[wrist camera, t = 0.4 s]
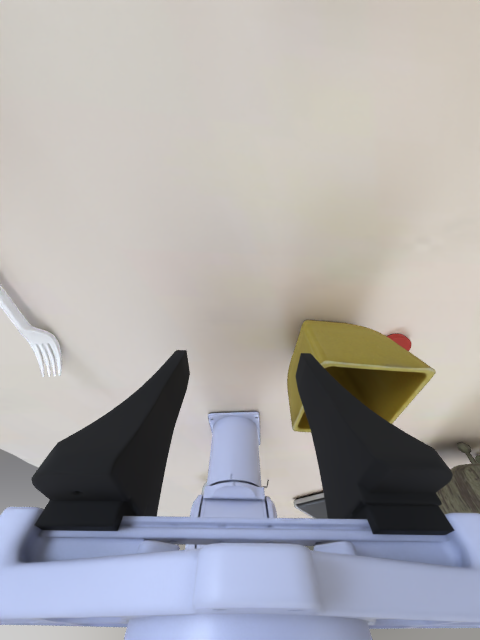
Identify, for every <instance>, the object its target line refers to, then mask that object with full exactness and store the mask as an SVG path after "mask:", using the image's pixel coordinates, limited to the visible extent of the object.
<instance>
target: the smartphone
mask: <svg viewBox="0 0 480 640" xmlns="http://www.w3.org/2000/svg"><path fill="white" fill-rule="evenodd" d="M294 507H295V508H297V509H299V510H300V511H302V512H304V513H305V514H307V515H309V516H310V517H312V518H314V519H328V517H327V510H326V504H325V498H324V493H320V494H316V495H312V496H308V497H304V498H300V499H296V500H294Z"/></svg>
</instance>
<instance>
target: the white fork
mask: <svg viewBox="0 0 480 640" xmlns="http://www.w3.org/2000/svg"><path fill="white" fill-rule="evenodd" d="M0 306H1V308H2V309H3V310H4V312H5V313H6V314H7V316H8V317H9V318H10V320H11V321H12V322H13V324H14V325H15V326H16V328H17V329H18V331H19V332H20V334H21V335H22V336H23V337H24V338H25V339H26V340H27V341H28V342H29V344H30V345H31V347H32V349H33V351H34V353H35V355H36V357H37V360H38V363H39V366H40V369H41V374H42V377H44V361H43V356H44V359H45V362H46V366H47V372H48V376H50V374H51V371H50V360H49V357H50V359H51V363H52V368H53V375H54V376H56V362H55V357H56V361H57V365H58V371H59V376H61V372H62V355H61V350H60V345H59V343H58V340H57V339H56V337H55V336H54V335H53V334H52V333H50V332H48V331H46V330H43V329H39V328H36V327H34V326H32V325H30V324H29V323H28V321H27V320H26V319H25V317H24V316H23V314H22V313H21V312H20V310H19V309H18V308H17V306H16V305H15V304H14V302H13V301H12V300H11V298H10V297H9V296H8V294H7V293H6V292H5V290H4V289H3V287H2V286H1V285H0ZM41 351H42V352H41ZM53 352H54V353H53ZM42 354H43V356H42ZM48 354H49V355H48ZM54 355H55V356H54Z"/></svg>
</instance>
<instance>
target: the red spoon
mask: <svg viewBox="0 0 480 640" xmlns="http://www.w3.org/2000/svg"><path fill="white" fill-rule="evenodd" d="M387 337H388V338H390V339H391V340H393V341H394V342H396V343H397V344H398V345H400V346H401V347H403V348H404V349H406V350H407V351H409V350H410V348H411V341H410V340H409V339H408V338H407V337H406V336H404V335H402V334H392V335H389V336H387Z"/></svg>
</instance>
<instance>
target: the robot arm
mask: <svg viewBox="0 0 480 640" xmlns="http://www.w3.org/2000/svg"><path fill="white" fill-rule="evenodd" d="M189 375H190V372H189V365H188V358H187V351H186V350H176V351H175V352H174V353H173V355H172V356H171V357H170V358H169V359H168V360H167V361H166V362H165V364H164V365H163V366H162V367H161V368H160V369H159V370H158V371H157V372H156V373H155V374H154V375H153V376H152V377H151V378H150V379H149V380H148V381H147V382H146V383H145V384H144V385H143V386H142V387H141V388H139V389H138V390H137V391H136V392H135V393H134V394H132V395H131V396H130V397H129V398H128V399H126V400H125V401H124V402H122V403H121V404H120V405H118V406H117V407H115V408H114V409H113V410H111V411H110V412H109V413H107V414H106V415H104V416H103V417H101V418H99V419H98V420H96V421H95V422H93V423H92V424H90V425H88V426H87V427H85V428H83V429H82V430H80V431H78V432H76V433H74V434H73V435H71V436H69V437H67V438H66V439H64V440H62V441H60V442H58V443H57V445H56V446H55V447H54V448H53V450H52V451H51V452H50V453H49V455H48V456H47V458H46V459H45V460H44V462H43V463H42V464H41V466H40V467H39V469H38V470H37V471H36V473H35V474H34V475H33V477H32V483H33V485H34V486H35V488H36V489H38V490H39V491H40V492H41V493H43V494H44V495H45V496H46V497H47V498H49V499H50V501H49V503H48V504H47V506H46V507H45V509H42V508H38V507H8V508H6V509H5V510H4V511H3V512H2V514H1V515H0V625H52V626H54V625H55V626H96V627H127V630H126V634H125V637H124V640H372V637H371V633H370V630H369V629H380V628H381V629H383V628H384V629H385V628H386V629H388V628H480V514H479V513H449V514H445V515H444V513H443V512H442V510H441V509H440V507H439V505H441V504H442V502H441V500H440V499H439V497H438V496H437V494H436V492H437V491H439V490H440V489H441V488H443V487H444V486H445V485H447V484H448V483H449V482H450V481H451V479H452V476H453V474H452V471H451V470H450V469H449V467H448V466H447V465H446V464H445V462H444V461H443V460H442V458H441V457H440V456H439V454H438V453H437V452H436V451H435V449H433V448H432V447H430V446H428V445H426V444H425V443H423V442H421V441H419V440H417V439H416V438H414V437H412V436H410V435H409V434H407V433H405V432H404V431H402V430H400V429H399V428H397V427H396V426H394V425H392V424H391V423H389V422H388V421H386V420H385V419H383V418H382V417H380V416H379V415H378V414H376V413H375V412H373V411H372V410H371V409H369V408H368V407H367V406H365V405H364V404H363V403H362V402H360V401H359V400H358V399H357V398H355V397H354V396H353V395H352V394H351V393H349V392H348V391H347V390H346V389H345V388H344V387H343V386H342V385H341V384H340V383H338V382H337V381H336V380H335V379H334V378H333V377H332V376H331V375H330V374H329V373H328V372H327V370H326V369H325V368H324V367H323V366H322V365H321V364H320V363H319V362H318V361H317V360H316V359H315V358H314V356H313V355H312V354H311V353H301V355H300V359H299V363H298V367H297V371H296V375H295V377H296V383H297V388H298V392H299V395H300V399H301V402H302V405H303V408H304V411H305V414H306V417H307V420H308V423H309V426H310V429H311V433H312V437H313V442H314V446H315V450H316V455H317V460H318V465H319V470H320V475H321V481H322V486H323V492H324V498H325V504H326V510H327V517H328V519H310V518H277V513H276V508H275V505H274V503H273V502H272V500H271V499H270V497H269V496H265V494H264V487H261V474H260V460H259V445H260V421H259V412H233V413H210V414H209V415H208V419H209V423H210V427H211V431H212V435H213V436H212V444H211V453H210V462H209V470H208V479H207V486H205V487H204V495H198V497H197V498H196V500H195V501H194V502H193V505H192V508H191V513H190V517H159V516H157V510H158V505H159V499H160V493H161V488H162V482H163V477H164V472H165V467H166V462H167V457H168V453H169V448H170V444H171V439H172V435H173V430H174V427H175V423H176V420H177V417H178V414H179V411H180V408H181V405H182V402H183V399H184V396H185V393H186V390H187V385H188V380H189ZM175 544H186V548H185V550H179V549H180V548H179V546H178V545H175ZM305 546H314V551H311V550H309V549H308V547H305Z"/></svg>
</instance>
